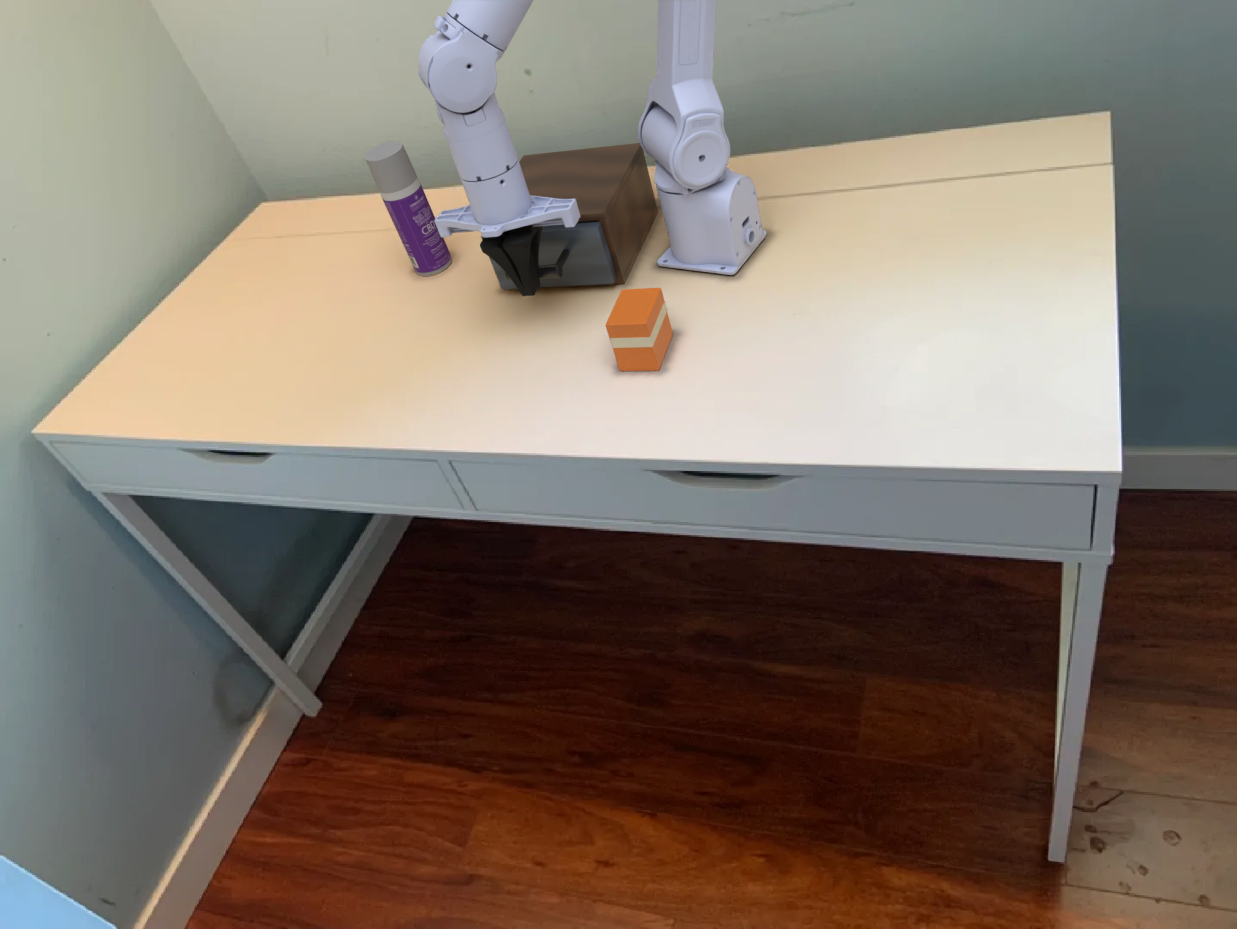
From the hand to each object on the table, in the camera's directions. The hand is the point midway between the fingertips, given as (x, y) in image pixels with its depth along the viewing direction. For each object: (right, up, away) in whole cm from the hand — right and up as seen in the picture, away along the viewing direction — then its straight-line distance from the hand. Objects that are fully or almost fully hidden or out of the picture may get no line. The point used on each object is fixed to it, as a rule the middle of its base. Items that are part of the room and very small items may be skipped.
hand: (531, 290), depth 98 cm
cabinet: (+5, +7, +12) cm, 14 cm away
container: (-13, +6, +18) cm, 23 cm away
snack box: (+12, -7, -6) cm, 15 cm away
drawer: (+3, +5, +8) cm, 10 cm away
